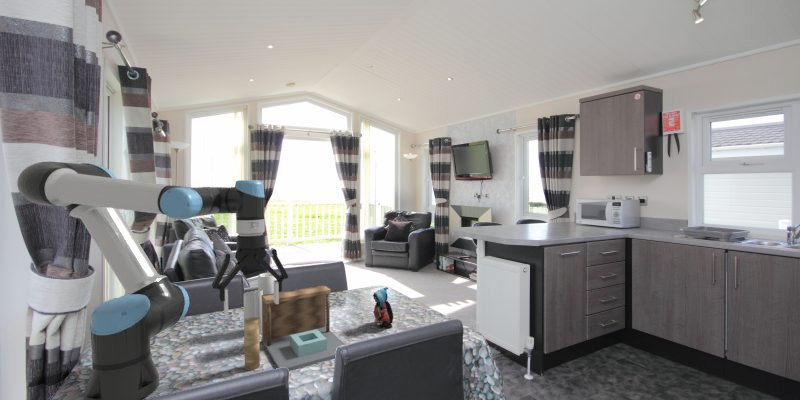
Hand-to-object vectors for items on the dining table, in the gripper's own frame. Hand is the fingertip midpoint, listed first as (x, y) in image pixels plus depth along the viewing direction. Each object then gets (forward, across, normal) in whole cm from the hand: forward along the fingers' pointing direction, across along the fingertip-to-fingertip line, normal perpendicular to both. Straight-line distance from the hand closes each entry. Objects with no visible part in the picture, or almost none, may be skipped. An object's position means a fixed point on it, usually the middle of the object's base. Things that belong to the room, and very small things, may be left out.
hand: (252, 307), depth 103 cm
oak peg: (+18, 0, 0) cm, 18 cm away
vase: (+18, +8, +26) cm, 32 cm away
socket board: (+18, +17, +4) cm, 25 cm away
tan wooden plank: (+18, +17, +12) cm, 27 cm away
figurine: (+18, +47, +6) cm, 50 cm away
